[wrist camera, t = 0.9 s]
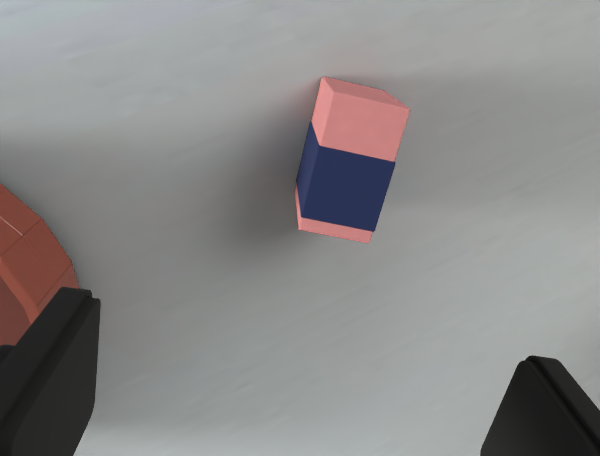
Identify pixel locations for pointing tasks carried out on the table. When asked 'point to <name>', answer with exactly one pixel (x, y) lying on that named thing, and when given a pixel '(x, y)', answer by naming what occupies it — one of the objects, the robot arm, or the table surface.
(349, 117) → the eraser
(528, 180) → the table surface
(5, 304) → the bowl
